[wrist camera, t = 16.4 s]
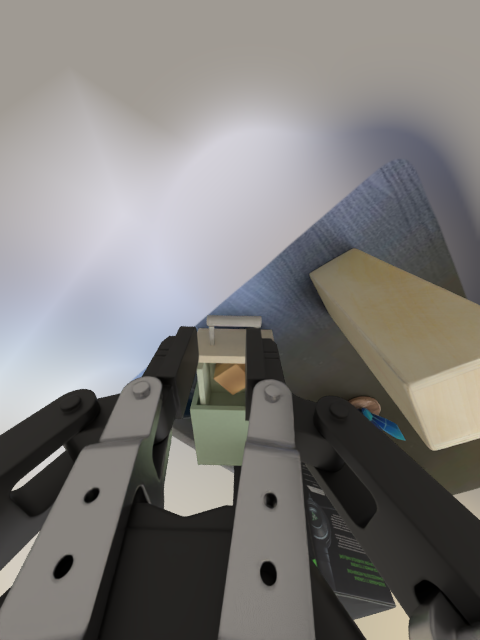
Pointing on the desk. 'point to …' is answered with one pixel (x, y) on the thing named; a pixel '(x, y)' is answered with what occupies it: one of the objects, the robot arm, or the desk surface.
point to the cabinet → (218, 432)
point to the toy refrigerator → (410, 342)
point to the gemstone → (376, 415)
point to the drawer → (223, 356)
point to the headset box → (338, 553)
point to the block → (230, 376)
